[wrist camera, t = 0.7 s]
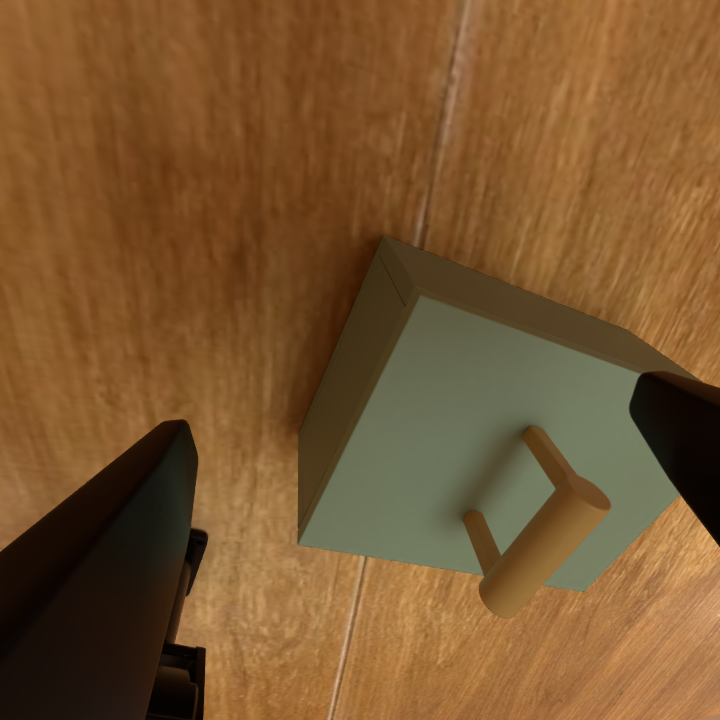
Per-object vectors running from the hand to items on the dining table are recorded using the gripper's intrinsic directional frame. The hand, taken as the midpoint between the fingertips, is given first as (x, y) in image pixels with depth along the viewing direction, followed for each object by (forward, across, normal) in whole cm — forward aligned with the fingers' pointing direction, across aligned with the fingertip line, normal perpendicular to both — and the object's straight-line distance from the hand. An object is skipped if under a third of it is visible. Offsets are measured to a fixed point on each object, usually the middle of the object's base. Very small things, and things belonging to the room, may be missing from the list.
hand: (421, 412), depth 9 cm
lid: (+7, -6, +9) cm, 13 cm away
